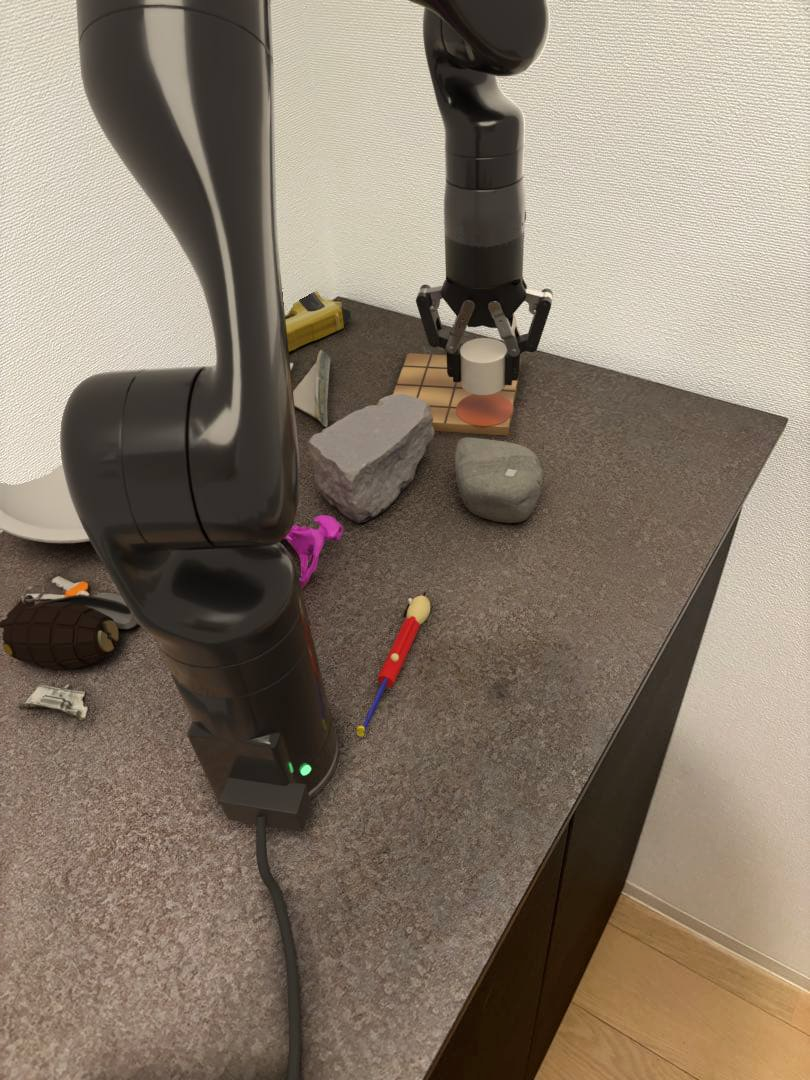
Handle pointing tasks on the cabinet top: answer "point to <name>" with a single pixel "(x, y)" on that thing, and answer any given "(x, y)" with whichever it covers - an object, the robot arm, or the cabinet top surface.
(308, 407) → the ceramic fragment
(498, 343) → the cream short cylinder
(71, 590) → the key chain
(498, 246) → the robot arm
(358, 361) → the cabinet top surface
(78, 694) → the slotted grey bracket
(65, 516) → the soup bowl
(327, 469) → the decorative stone
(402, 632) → the red screwdriver
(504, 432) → the board
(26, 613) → the hand grenade
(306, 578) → the pelvis
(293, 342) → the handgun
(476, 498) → the stone
